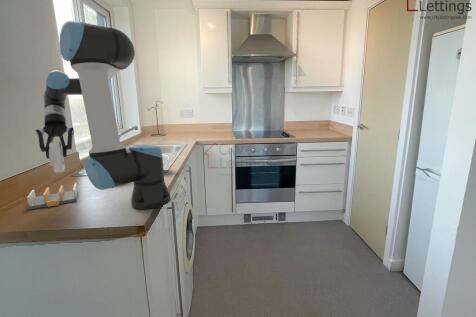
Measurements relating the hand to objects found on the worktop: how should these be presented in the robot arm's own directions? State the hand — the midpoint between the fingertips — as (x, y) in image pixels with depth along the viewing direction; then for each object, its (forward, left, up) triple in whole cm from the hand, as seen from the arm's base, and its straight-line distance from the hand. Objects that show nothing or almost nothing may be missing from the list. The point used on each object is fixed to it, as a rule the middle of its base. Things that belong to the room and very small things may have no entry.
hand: (56, 163), depth 102 cm
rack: (+6, +4, -17) cm, 18 cm away
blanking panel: (+4, 0, -4) cm, 5 cm away
